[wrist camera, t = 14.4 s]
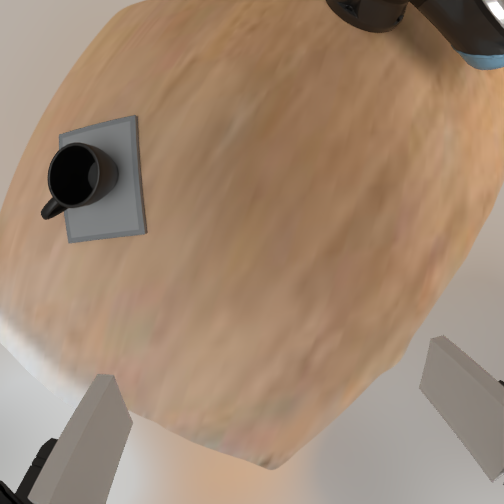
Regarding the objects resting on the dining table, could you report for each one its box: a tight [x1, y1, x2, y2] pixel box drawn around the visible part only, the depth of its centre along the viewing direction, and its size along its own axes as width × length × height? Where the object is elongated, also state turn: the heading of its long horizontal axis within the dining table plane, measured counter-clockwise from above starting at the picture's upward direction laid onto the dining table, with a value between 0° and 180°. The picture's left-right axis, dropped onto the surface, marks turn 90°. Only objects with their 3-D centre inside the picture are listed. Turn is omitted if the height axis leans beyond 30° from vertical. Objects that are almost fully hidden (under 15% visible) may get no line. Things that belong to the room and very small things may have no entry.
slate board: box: [59, 115, 147, 243], centre depth 40 cm, size 18×14×1 cm
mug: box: [41, 142, 119, 220], centre depth 35 cm, size 8×12×10 cm
